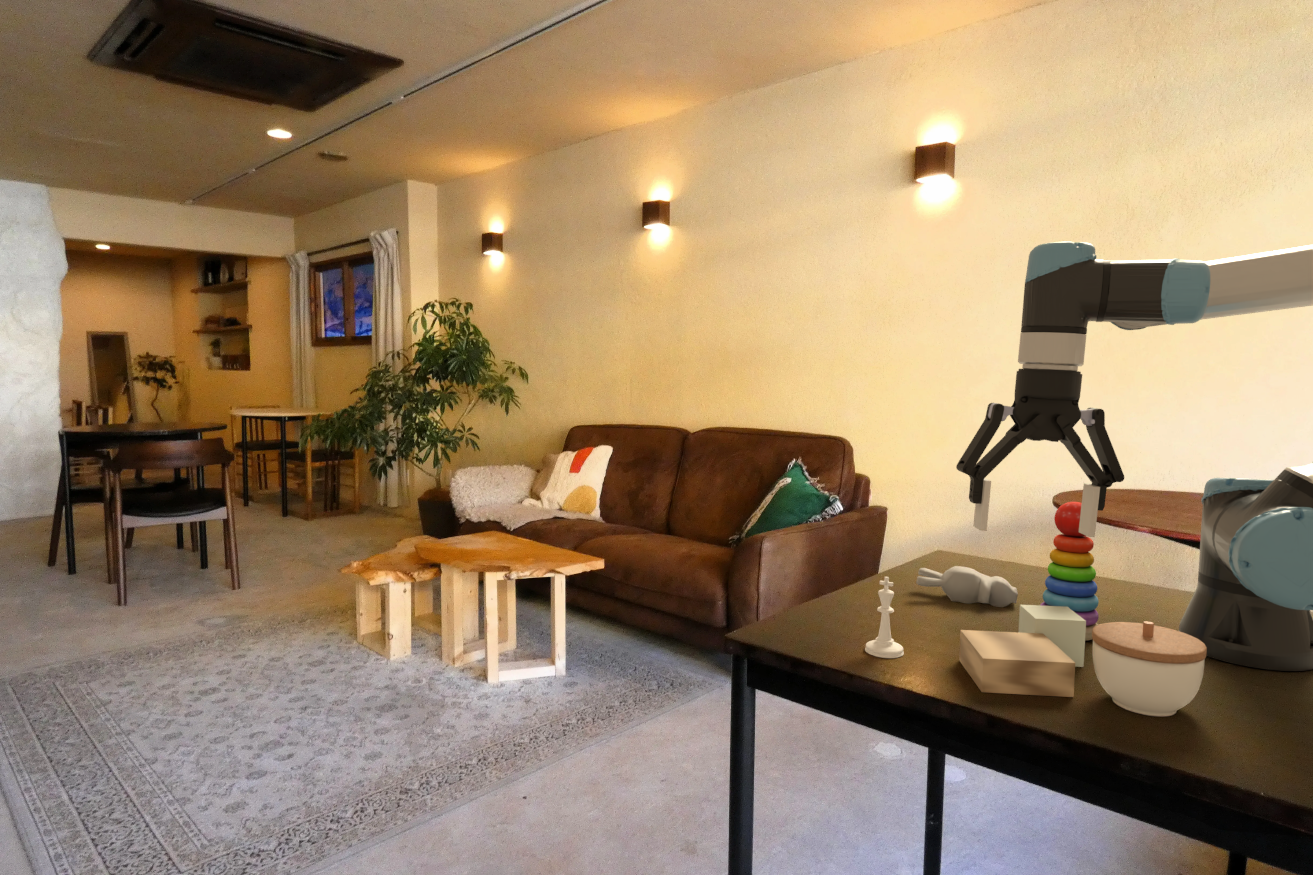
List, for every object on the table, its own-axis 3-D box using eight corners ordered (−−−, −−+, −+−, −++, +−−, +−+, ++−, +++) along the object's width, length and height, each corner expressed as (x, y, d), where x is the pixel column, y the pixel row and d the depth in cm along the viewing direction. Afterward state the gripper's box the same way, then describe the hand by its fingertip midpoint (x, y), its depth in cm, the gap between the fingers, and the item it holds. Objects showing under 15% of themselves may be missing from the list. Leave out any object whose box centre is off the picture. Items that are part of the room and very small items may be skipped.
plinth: (1041, 664, 99) (1043, 633, 98) (1073, 696, 89) (1075, 662, 89) (959, 660, 100) (960, 629, 100) (981, 691, 90) (983, 658, 90)
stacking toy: (1108, 645, 106) (1116, 508, 104) (1045, 640, 108) (1052, 505, 106) (1089, 626, 114) (1096, 498, 112) (1030, 622, 115) (1036, 496, 114)
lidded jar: (1098, 678, 95) (1103, 602, 94) (1206, 702, 88) (1212, 620, 87) (1079, 707, 86) (1083, 624, 86) (1196, 736, 80) (1202, 646, 79)
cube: (1065, 650, 104) (1067, 606, 104) (1083, 667, 98) (1086, 620, 98) (1017, 648, 105) (1019, 604, 104) (1033, 664, 99) (1035, 618, 98)
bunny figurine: (1020, 588, 119) (918, 567, 125) (1015, 620, 120) (913, 598, 125) (1016, 573, 128) (921, 554, 133) (1011, 603, 129) (916, 583, 134)
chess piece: (895, 661, 100) (898, 584, 99) (859, 652, 103) (861, 577, 102) (909, 650, 104) (911, 576, 103) (873, 642, 107) (875, 570, 106)
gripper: (1133, 372, 103) (1115, 530, 105) (940, 362, 104) (927, 519, 106) (1167, 373, 95) (1148, 544, 98) (959, 363, 96) (944, 532, 99)
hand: (1032, 531), depth 102 cm, fingers open, 13 cm apart
